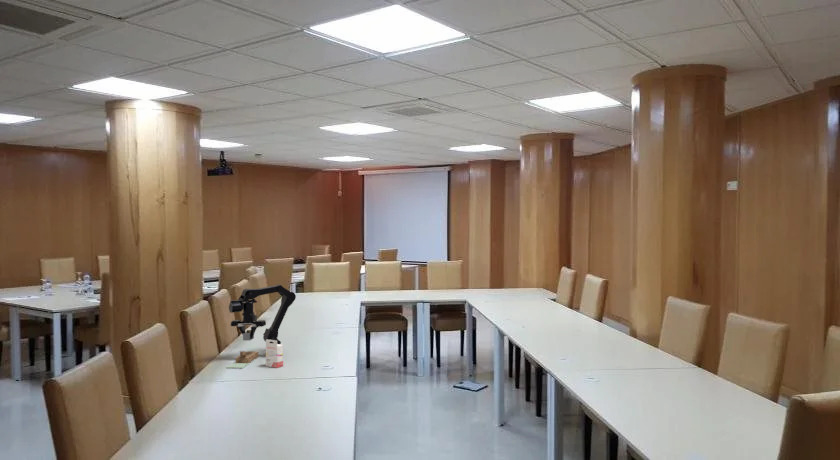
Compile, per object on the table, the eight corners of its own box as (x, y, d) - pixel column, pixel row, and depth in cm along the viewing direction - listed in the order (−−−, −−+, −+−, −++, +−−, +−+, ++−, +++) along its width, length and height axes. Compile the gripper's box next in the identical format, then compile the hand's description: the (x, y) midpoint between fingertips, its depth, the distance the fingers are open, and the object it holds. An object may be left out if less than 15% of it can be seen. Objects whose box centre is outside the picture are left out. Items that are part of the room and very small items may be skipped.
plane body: (258, 356, 332) (258, 346, 331) (247, 363, 316) (247, 352, 316) (246, 356, 332) (246, 346, 332) (235, 363, 316) (235, 352, 316)
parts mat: (248, 364, 314) (248, 363, 314) (242, 368, 305) (242, 367, 305) (232, 364, 315) (232, 363, 315) (226, 368, 306) (225, 367, 306)
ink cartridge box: (283, 365, 310) (283, 339, 310) (277, 368, 306) (277, 340, 306) (271, 364, 314) (271, 337, 314) (265, 366, 310) (265, 339, 310)
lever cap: (253, 338, 328) (253, 329, 328) (249, 340, 323) (249, 331, 322) (247, 338, 329) (247, 329, 329) (242, 340, 323) (242, 331, 323)
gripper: (269, 309, 333) (269, 335, 333) (238, 308, 334) (238, 335, 335) (262, 312, 322) (262, 339, 322) (230, 311, 323) (230, 339, 323)
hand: (248, 338), depth 326 cm, fingers closed on lever cap, 4 cm apart
